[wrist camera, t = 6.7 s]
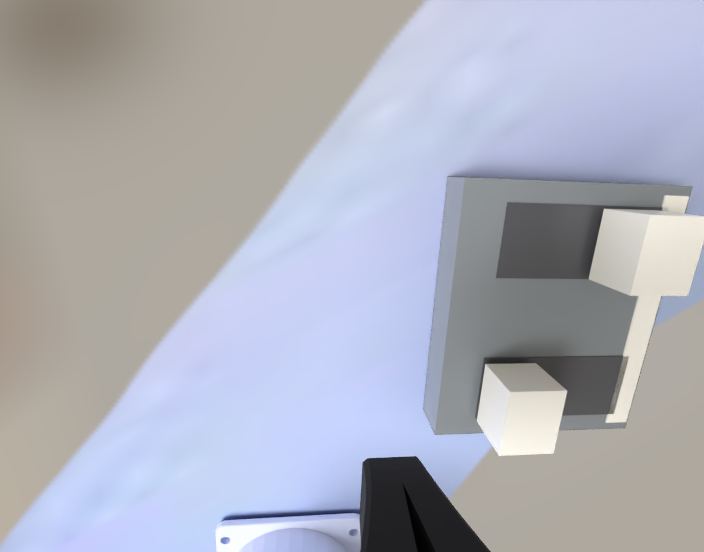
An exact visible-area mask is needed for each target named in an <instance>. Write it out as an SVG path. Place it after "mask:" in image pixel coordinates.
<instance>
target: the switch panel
mask: <svg viewBox="0 0 704 552" xmlns="http://www.w3.org/2000/svg"><path fill="white" fill-rule="evenodd" d="M691 191H692V187H691V186H670V185H648V184H623V183H598V182H572V181H547V180H522V179H496V178H471V177H447V186H446V196H445V205H444V215H443V224H442V234H441V243H440V253H439V263H438V272H437V282H436V291H435V301H434V310H433V320H432V329H431V339H430V348H429V358H428V368H427V377H426V387H425V396H424V406H423V410H424V412H425V414H426V417H427V419H428V421H429V423H430V425H431V428H432V430H433V432H434V434H435V435H443V434H471V433H484V432H483V430H482V429H481V427H480V426H479V424H478V422H477V416H478V410H479V403H480V396H481V390H482V383H483V377H484V370H485V364H516V363H536V364H537V365H539V366H540V367H541V368H542V369H543V370H544V371H545V372H547V373H548V374H549V375H550V376H551V377H552V378H553V379H555V380H556V381H557V382H558V383H559V384H560V385H561V386H563V387H564V388H565V389H566V390H567V395H566V399H565V404H564V408H563V413H562V417H561V422H560V426H559V430H585V429H612V428H625V426H626V423H627V420H628V416H629V412H630V408H631V405H632V401H633V398H634V394H635V391H636V387H637V384H638V380H639V377H640V373H641V370H642V366H643V362H644V359H645V355H646V352H647V348H648V345H649V341H650V337H651V334H652V330H653V327H654V323H655V320H656V316H657V312H658V309H659V305H660V302H661V298H662V296H629V295H627V294H624V293H622V292H619V291H617V290H614V289H612V288H609V287H607V286H604V285H602V284H599V283H597V282H594V281H592V280H589V274H590V270H591V265H592V261H593V256H594V252H595V247H596V243H597V238H598V233H599V229H600V224H601V220H602V215H603V211H604V209H633V210H659V211H667V212H676V213H684V214H685V212H686V209H687V205H688V202H689V198H690V194H691Z"/></svg>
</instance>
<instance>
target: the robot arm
mask: <svg viewBox="0 0 704 552" xmlns="http://www.w3.org/2000/svg"><path fill="white" fill-rule="evenodd" d="M351 529H354V530H351ZM216 546H217V552H490V550H489V549H488V548H487V547H486V546H485V545H484V543H483V542H482V541H481V540H480V539H479V537H478V536H477V535H476V534H475V532H474V531H473V530H472V529H471V528H470V526H469V525H468V524H467V523H466V521H465V520H464V519H463V518H462V517H461V515H460V514H459V513H458V511H457V510H456V509H455V508H454V506H453V505H452V504H451V502H450V501H449V500H448V498H447V497H446V496H445V494H444V493H443V492H442V490H441V489H440V488H439V486H438V485H437V484H436V482H435V481H434V480H433V478H432V477H431V475H430V474H429V473H428V471H427V470H426V468H425V467H424V466H423V464H422V463H421V461H420V460H419V459H418V458H417V457H416V456H415V457H391V458H368V459H366V460H365V461H364V462H363V467H362V485H361V502H360V515H359V514H357V513H346V514H328V515H310V516H293V517H275V518H258V519H240V520H225V521H222V522H220V523H219V524H218V525H217V529H216Z"/></svg>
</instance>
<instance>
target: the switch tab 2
mask: <svg viewBox="0 0 704 552" xmlns="http://www.w3.org/2000/svg"><path fill="white" fill-rule="evenodd" d="M703 243H704V216H700V215H692V214H684V213H676V212H667V211H659V210H633V209H604V211H603V215H602V220H601V224H600V229H599V233H598V238H597V243H596V247H595V252H594V256H593V261H592V265H591V270H590V274H589V280H592V281H594V282H597V283H599V284H602V285H604V286H607V287H609V288H612V289H614V290H617V291H619V292H622V293H624V294H627V295H629V296H688V294H689V290H690V287H691V284H692V280H693V277H694V273H695V270H696V267H697V263H698V260H699V257H700V253H701V250H702V247H703Z"/></svg>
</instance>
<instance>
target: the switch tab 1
mask: <svg viewBox="0 0 704 552" xmlns="http://www.w3.org/2000/svg"><path fill="white" fill-rule="evenodd" d="M566 395H567V390H566V389H565V388H564V387H563V386H561V385H560V384H559V383H558V382H557V381H556V380H555V379H553V378H552V377H551V376H550V375H549V374H548V373H547V372H545V371H544V370H543V369H542V368H541V367H540V366H539V365H537V364H536V363H516V364H485V370H484V377H483V383H482V390H481V396H480V403H479V410H478V416H477V422H478V424H479V426H480V427H481V429H482V430H483V432H484V433H485V435H486V436H487V438H488V440H489V441H490V443H491V444H492V446H493V447H494V449H495V450H496V452H497V453H498V455H499V456H503V455H528V454H552V453H554V448H555V444H556V440H557V435H558V431H559V426H560V422H561V417H562V413H563V408H564V404H565V399H566Z"/></svg>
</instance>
